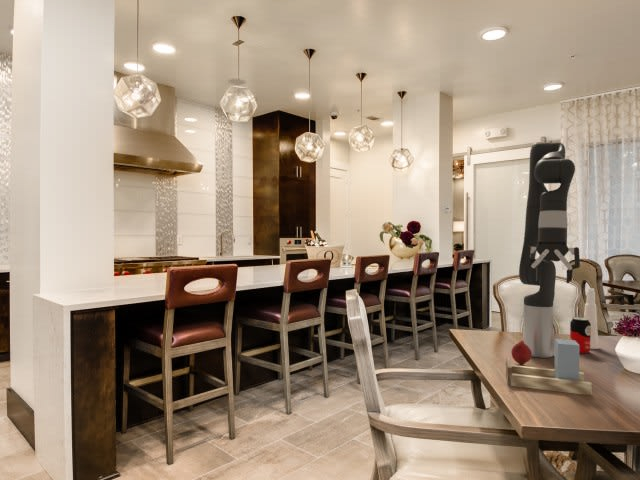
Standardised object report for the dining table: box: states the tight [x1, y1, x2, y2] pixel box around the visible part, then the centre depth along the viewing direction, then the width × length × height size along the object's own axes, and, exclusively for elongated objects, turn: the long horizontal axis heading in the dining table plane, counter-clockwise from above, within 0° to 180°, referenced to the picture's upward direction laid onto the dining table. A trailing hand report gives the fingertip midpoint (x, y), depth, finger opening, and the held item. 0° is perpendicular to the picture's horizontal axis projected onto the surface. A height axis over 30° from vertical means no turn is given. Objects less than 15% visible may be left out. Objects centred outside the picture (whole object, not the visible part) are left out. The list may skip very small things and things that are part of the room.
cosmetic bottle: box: [583, 287, 601, 350], centre depth 165 cm, size 6×6×22 cm
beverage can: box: [569, 316, 591, 354], centre depth 158 cm, size 6×6×12 cm
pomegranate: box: [510, 339, 533, 366], centre depth 140 cm, size 6×6×8 cm
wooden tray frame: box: [505, 357, 593, 396], centre depth 122 cm, size 20×10×5 cm, turn 70°
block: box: [553, 338, 580, 381], centre depth 120 cm, size 5×6×11 cm
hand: (551, 281), depth 129 cm, fingers open, 8 cm apart
